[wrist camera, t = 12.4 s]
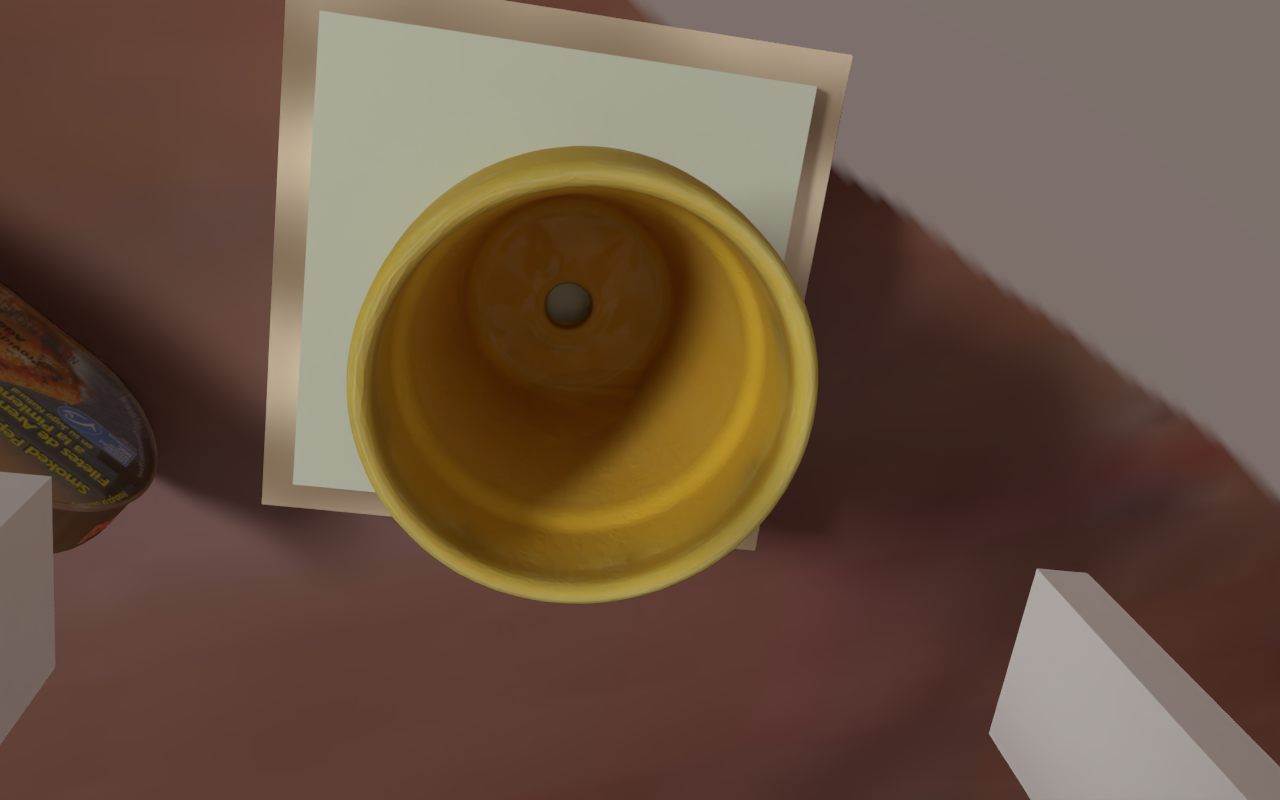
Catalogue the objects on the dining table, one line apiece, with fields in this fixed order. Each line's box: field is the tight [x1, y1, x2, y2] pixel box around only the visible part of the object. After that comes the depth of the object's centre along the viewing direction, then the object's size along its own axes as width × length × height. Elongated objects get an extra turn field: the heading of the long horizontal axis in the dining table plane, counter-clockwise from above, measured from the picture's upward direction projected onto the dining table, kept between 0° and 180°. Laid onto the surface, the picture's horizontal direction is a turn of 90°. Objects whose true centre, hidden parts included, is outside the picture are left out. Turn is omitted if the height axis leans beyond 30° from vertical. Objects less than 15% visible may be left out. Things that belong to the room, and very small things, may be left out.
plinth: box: [262, 0, 853, 551], centre depth 35 cm, size 16×16×4 cm
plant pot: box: [346, 146, 818, 604], centre depth 29 cm, size 10×10×10 cm
